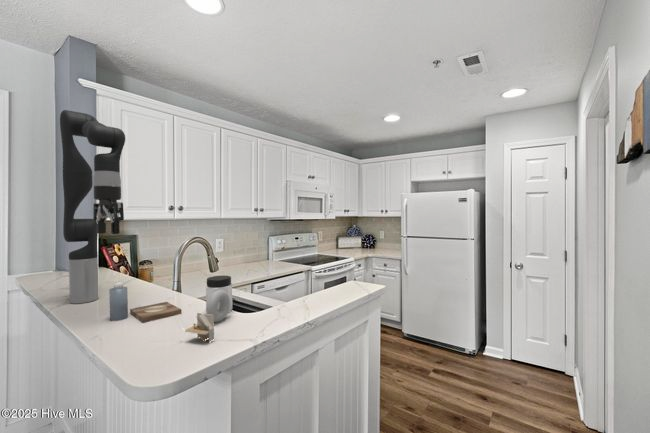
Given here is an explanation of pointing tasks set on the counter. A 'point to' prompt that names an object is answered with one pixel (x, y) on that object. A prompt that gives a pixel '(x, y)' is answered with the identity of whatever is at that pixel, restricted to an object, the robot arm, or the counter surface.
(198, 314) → the architectural model
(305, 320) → the counter surface
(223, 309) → the donut
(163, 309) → the walnut board
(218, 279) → the jar
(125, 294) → the bottle
